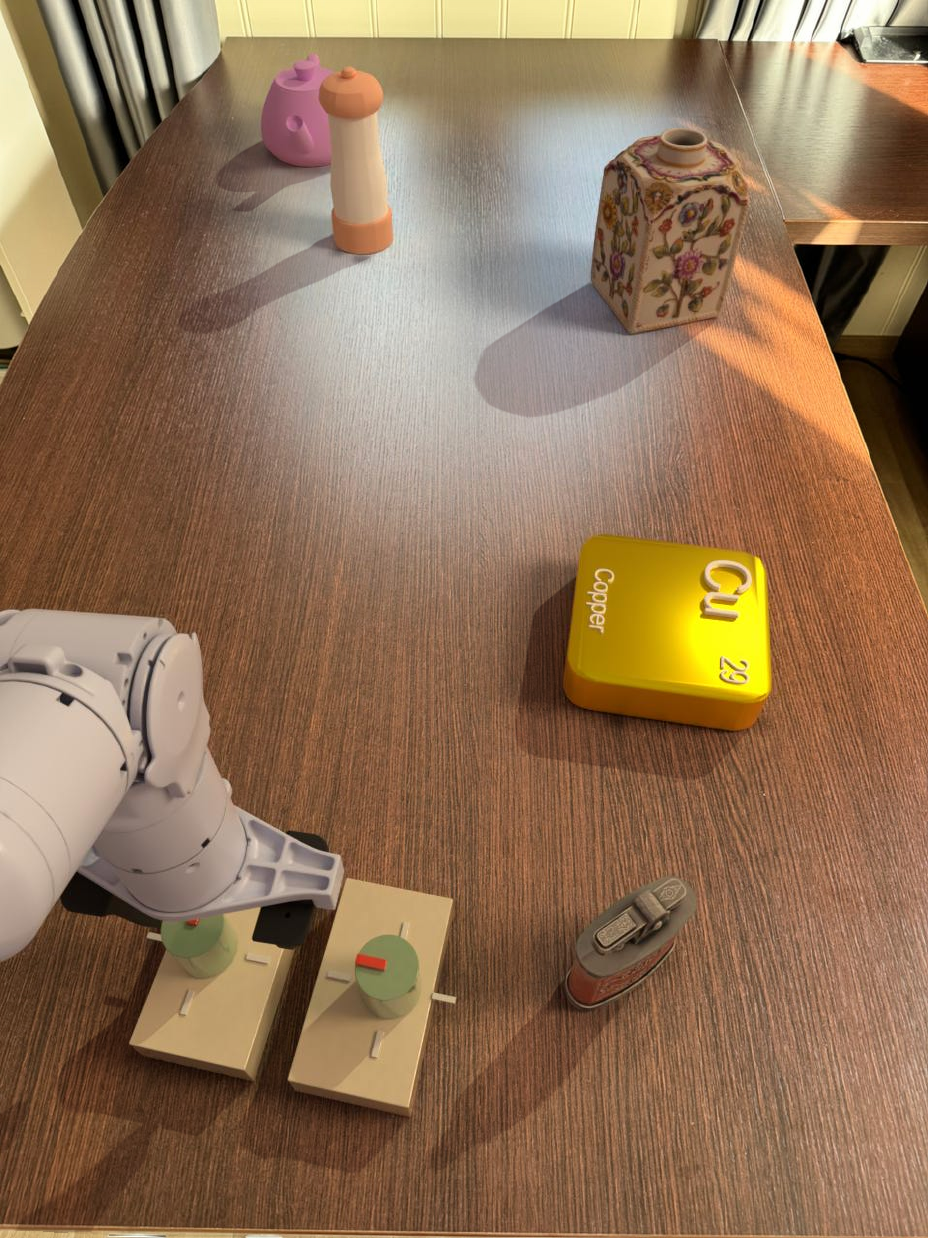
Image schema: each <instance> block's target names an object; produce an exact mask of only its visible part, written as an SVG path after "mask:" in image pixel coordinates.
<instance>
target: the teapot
mask: <svg viewBox="0 0 928 1238" xmlns="http://www.w3.org/2000/svg"><path fill="white" fill-rule="evenodd" d="M292 66H293V67H289V68H286V69H284V70H281V72H279V73H278V74H277V75H276V76H275V77H274V79H273V81H272V83H271V85H270V87H269V90H268V92H267V95H266V97H265V100H264V103H263V107H262V111H261V117H260V132H261V133H260V134H261V140H262V142H263V144H264V146H265V147H266V149H267V150H268V151H269V152H270V153H271V154H272V155H274V156H275V157H276V158H277V159H278V160H280V162H283V163H285V164H287V165H291V166H294V167H295V166H296V167H303V168H305V167H306V168H317V167H325V166H331V155H332V150H331V140H330V131H329V121H328V113H326V112H325V111H324V109H323V108H322V106H321V104H320V102H319V99H318V98H319V89H320V86H321V84H322V82H323V80H324V79H325V78H326V77H328V76H330V75H332V74H334V73H335V72H334V71H332V70H331V69H329V68H327V67H322V66H321V61H320V57H319V56H318V55H317V54H315V53H311V54H309V55H308V56H307V57H306V59H305V60H303V59H302V60H298V61H296V62H294V63H293V64H292Z"/></svg>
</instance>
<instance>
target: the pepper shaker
mask: <svg viewBox="0 0 928 1238" xmlns="http://www.w3.org/2000/svg"><path fill="white" fill-rule="evenodd" d="M333 73H334V74H332V75H330V76H328V77H326V78H325V79H324V80H323V82H322V84H321V86H320V89H319V98H318V99H319V102H320V104H321V106H322V108H323V109H324V111H325V112H326V113H328V121H329V131H330V140H331V150H332V155H331V165H330V192H331V199H332V206H333V208H332V209H331V215H330V217H331V224H332V225H331V226H332V235H333V241H334V244H335V245H336V248H339V249H340V250H341V251H344V252H346V253H349V254H355V255H370V254H376V253H378V252H381V251H383V250H386V249H387V248H388V247H389V246H391V245H392V243H393V241H394V230H393V216H392V215H393V213H392V207H391V206H390V204H388V203H389V202H388V200H389V199H388V179H387V174H386V170H385V169H386V168H385V165H384V161H383V156H382V151H381V146H380V135H379V121H378V120H379V119H378V111H379V110H380V108H381V106H382V104H383V100H384V91H383V88H382V85H381V84H380V83H379V81H378V80H377V78H376V77H375V76H374V75H372V74H370V73H367V72H364V71H362V70H359V69H358V70H357V69H355V68H354V67H353V66H345V67H343V68H342V69H341V70H340V71H335V72H333Z"/></svg>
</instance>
